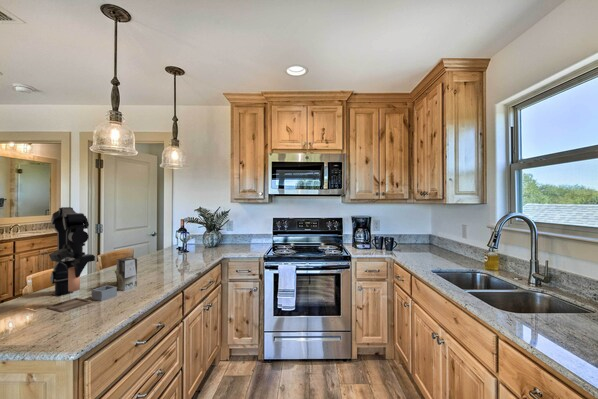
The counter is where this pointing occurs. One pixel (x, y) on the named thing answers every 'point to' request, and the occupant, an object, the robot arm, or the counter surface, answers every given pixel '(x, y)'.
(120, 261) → the coffee box
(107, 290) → the open box
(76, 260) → the robot arm
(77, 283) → the dowel
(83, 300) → the tray
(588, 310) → the counter surface
